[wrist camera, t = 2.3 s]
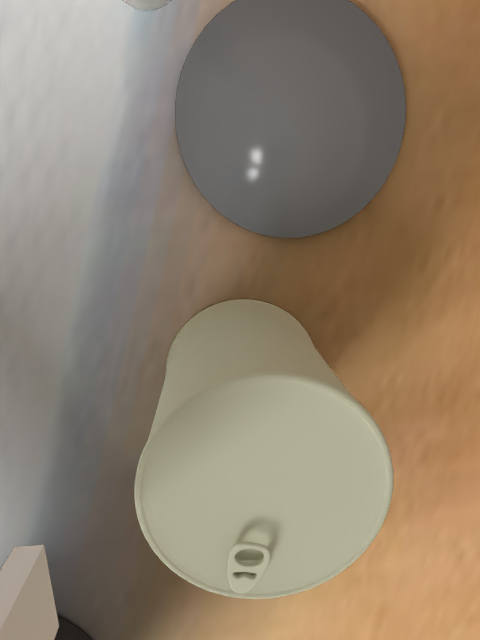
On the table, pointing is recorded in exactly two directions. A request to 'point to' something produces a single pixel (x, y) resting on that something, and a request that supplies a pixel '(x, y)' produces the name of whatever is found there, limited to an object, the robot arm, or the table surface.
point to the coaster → (290, 114)
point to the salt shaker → (147, 4)
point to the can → (258, 459)
